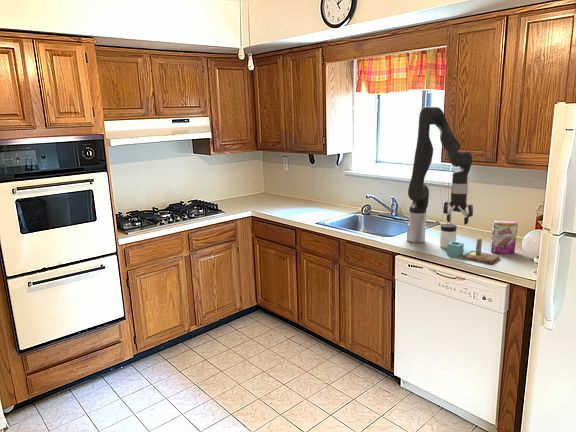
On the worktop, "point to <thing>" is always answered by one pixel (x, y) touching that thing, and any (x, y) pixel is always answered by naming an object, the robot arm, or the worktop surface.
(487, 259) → the post stand
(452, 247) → the collar
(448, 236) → the jar
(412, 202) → the robot arm
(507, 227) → the candy bar box
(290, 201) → the worktop surface
